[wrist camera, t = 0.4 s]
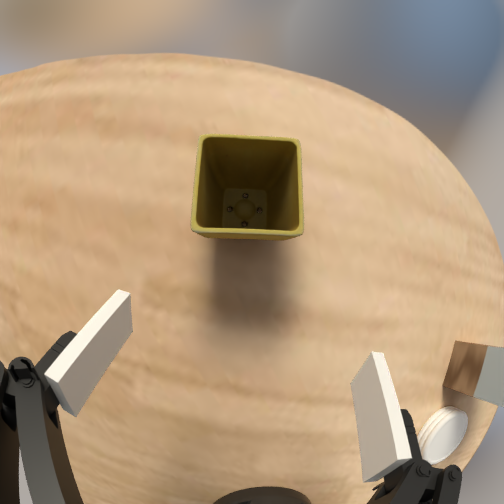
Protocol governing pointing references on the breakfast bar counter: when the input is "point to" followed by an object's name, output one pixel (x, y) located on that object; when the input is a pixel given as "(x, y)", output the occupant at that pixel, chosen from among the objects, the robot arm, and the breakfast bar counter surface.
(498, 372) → the block top
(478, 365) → the block bottom
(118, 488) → the breakfast bar counter surface
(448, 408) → the white round disc
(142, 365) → the breakfast bar counter surface
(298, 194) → the flower pot
